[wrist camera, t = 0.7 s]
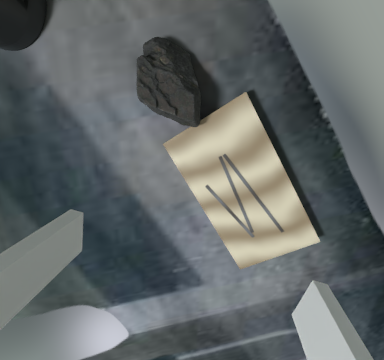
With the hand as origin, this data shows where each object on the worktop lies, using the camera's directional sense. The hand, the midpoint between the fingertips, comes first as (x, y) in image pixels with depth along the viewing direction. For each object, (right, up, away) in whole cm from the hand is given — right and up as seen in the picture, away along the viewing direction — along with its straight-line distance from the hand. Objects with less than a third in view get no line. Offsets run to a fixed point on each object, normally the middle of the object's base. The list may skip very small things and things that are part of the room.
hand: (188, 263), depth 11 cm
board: (+9, +3, +21) cm, 23 cm away
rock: (-2, +18, +18) cm, 26 cm away
